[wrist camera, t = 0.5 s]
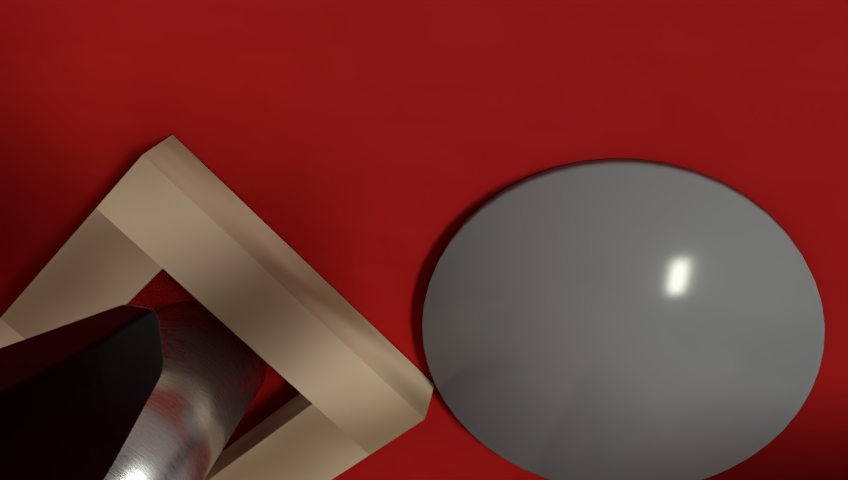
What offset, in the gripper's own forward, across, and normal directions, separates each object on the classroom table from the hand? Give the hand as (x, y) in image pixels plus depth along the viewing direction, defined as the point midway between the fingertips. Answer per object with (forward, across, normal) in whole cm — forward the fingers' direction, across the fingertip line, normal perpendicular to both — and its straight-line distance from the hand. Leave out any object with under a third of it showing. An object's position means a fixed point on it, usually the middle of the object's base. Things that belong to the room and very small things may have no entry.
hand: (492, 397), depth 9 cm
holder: (+13, +11, +11) cm, 20 cm away
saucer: (+13, -3, +7) cm, 15 cm away
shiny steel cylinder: (+13, +11, +11) cm, 20 cm away
